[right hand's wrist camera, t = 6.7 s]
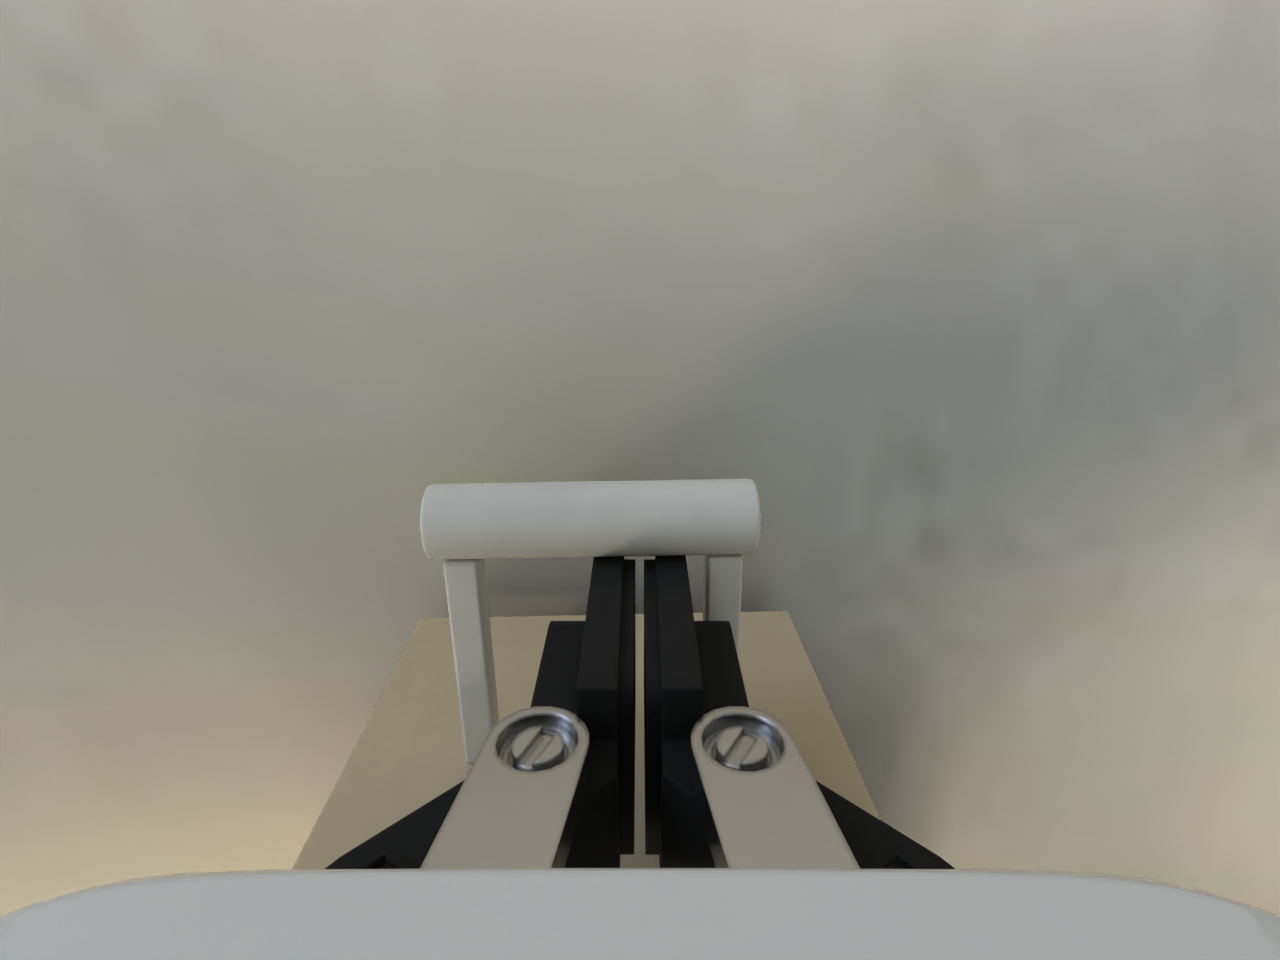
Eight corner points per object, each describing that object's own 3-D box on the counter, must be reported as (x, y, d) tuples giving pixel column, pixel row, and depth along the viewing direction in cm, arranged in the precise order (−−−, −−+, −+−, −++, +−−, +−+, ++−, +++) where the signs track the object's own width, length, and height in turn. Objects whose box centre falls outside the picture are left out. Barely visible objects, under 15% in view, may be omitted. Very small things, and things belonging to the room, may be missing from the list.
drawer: (391, 411, 16) (180, 582, 8) (805, 405, 16) (973, 566, 8) (476, 1038, 24) (408, 1428, 16) (755, 1028, 24) (820, 1408, 16)
